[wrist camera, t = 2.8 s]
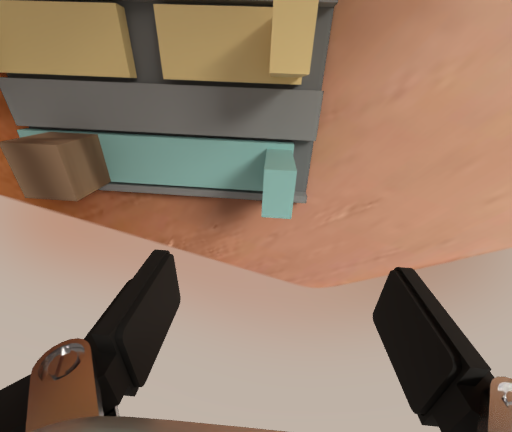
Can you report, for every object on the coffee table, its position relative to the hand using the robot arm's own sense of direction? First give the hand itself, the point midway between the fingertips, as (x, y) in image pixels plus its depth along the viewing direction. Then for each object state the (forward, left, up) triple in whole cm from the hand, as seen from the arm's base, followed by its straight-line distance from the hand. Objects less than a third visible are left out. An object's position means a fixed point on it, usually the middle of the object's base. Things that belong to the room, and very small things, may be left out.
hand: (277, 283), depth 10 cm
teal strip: (+12, 0, -17) cm, 21 cm away
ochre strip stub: (+4, -10, -17) cm, 21 cm away
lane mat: (+11, -5, -17) cm, 21 cm away
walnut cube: (+20, 0, -16) cm, 26 cm away
